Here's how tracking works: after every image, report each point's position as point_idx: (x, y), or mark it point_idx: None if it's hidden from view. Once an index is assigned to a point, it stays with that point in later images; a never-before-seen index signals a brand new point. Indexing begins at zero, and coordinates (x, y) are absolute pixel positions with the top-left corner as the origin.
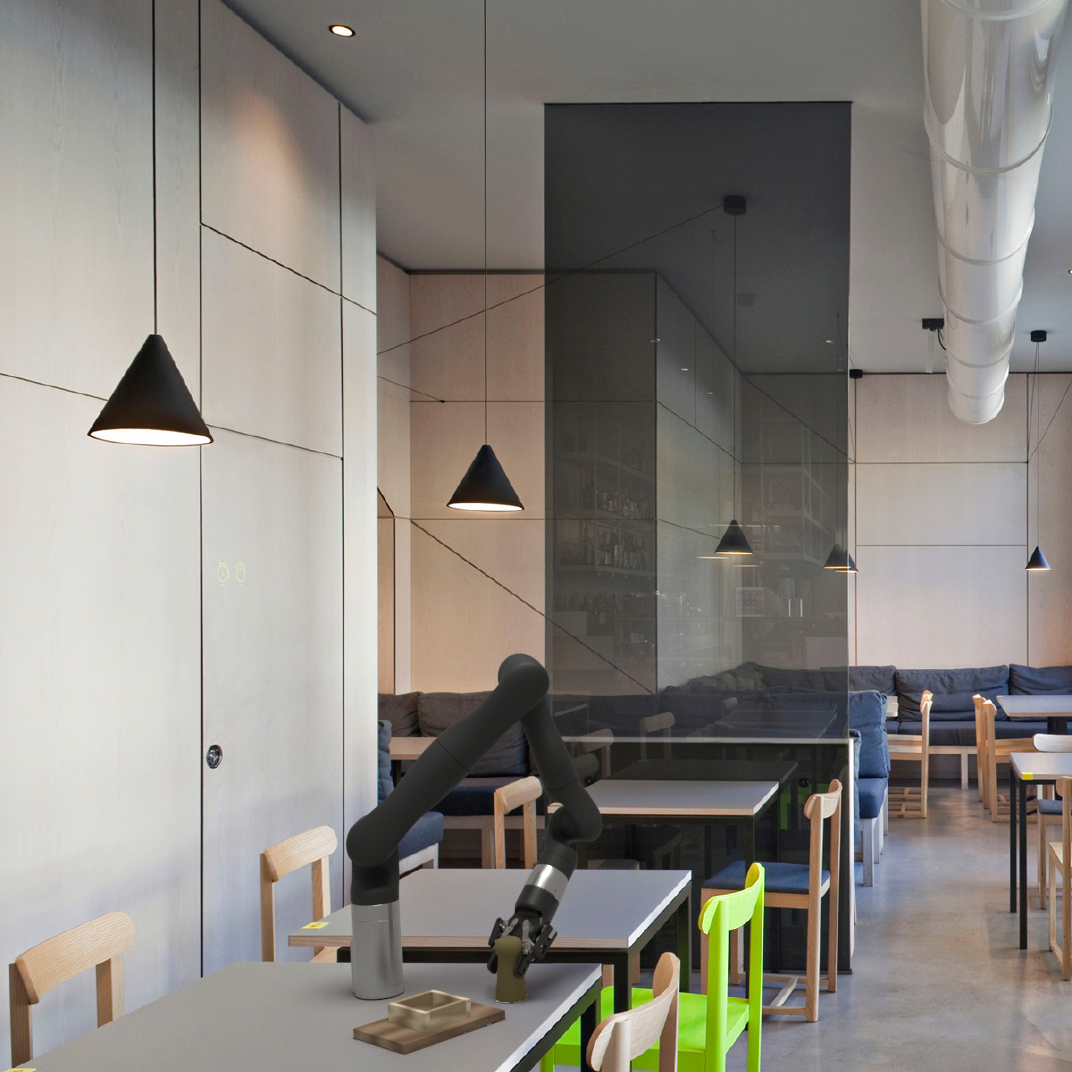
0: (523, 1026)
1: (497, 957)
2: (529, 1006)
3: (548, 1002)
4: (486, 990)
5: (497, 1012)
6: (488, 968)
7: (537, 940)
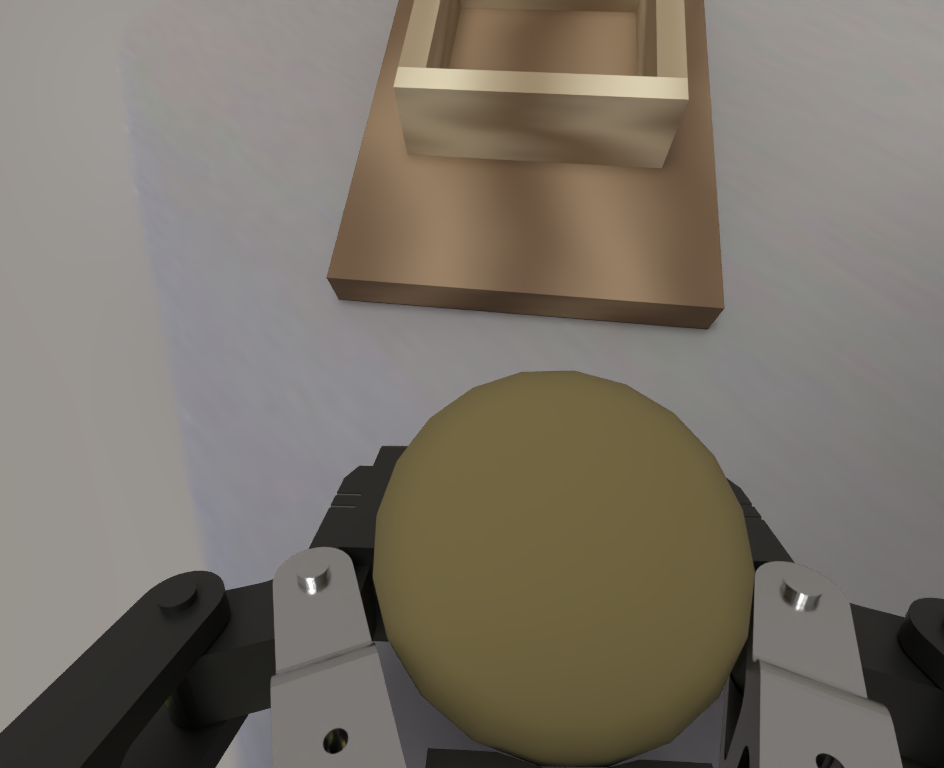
0: (213, 269)
1: None
2: None
3: None
4: None
5: (338, 240)
6: None
7: (109, 730)
